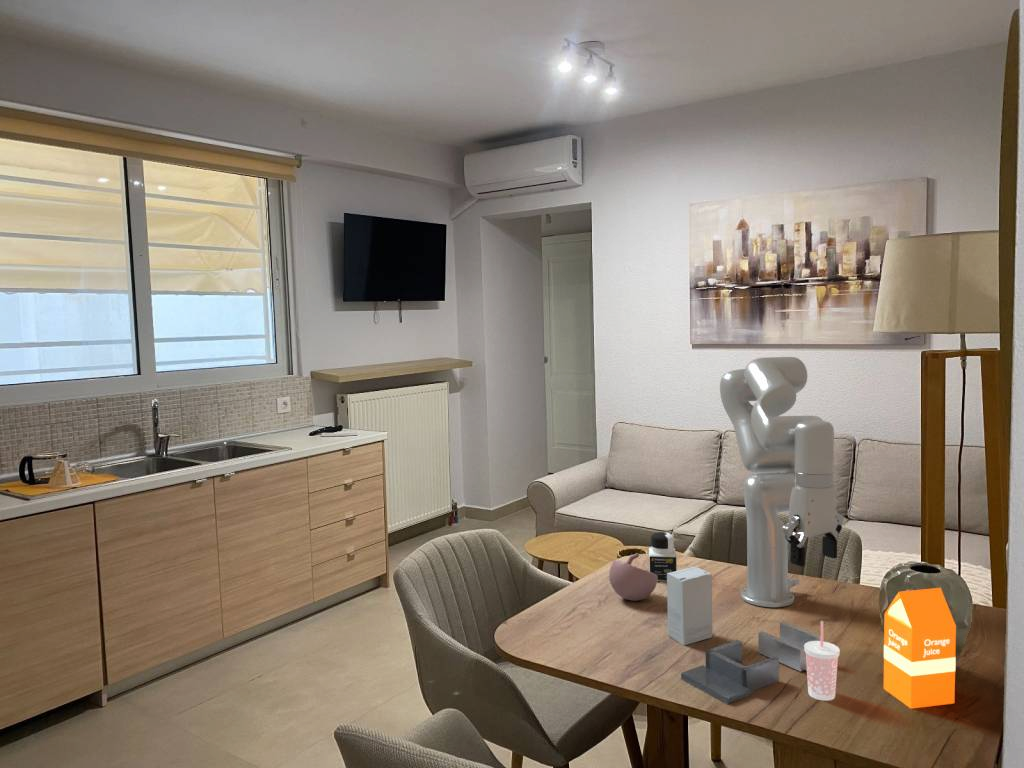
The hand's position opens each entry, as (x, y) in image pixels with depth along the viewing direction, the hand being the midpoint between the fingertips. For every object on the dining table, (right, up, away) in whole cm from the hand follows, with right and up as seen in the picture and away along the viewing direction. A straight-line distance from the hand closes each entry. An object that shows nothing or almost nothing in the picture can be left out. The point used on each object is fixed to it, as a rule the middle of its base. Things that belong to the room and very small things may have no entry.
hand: (814, 560), depth 158 cm
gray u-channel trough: (-6, -19, -3) cm, 20 cm away
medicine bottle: (-22, -16, +48) cm, 55 cm away
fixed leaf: (-21, -20, -12) cm, 32 cm away
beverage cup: (-6, -21, -18) cm, 28 cm away
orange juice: (+11, -20, -20) cm, 30 cm away
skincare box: (-24, -19, +8) cm, 32 cm away
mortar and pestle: (-33, -17, +32) cm, 49 cm away
